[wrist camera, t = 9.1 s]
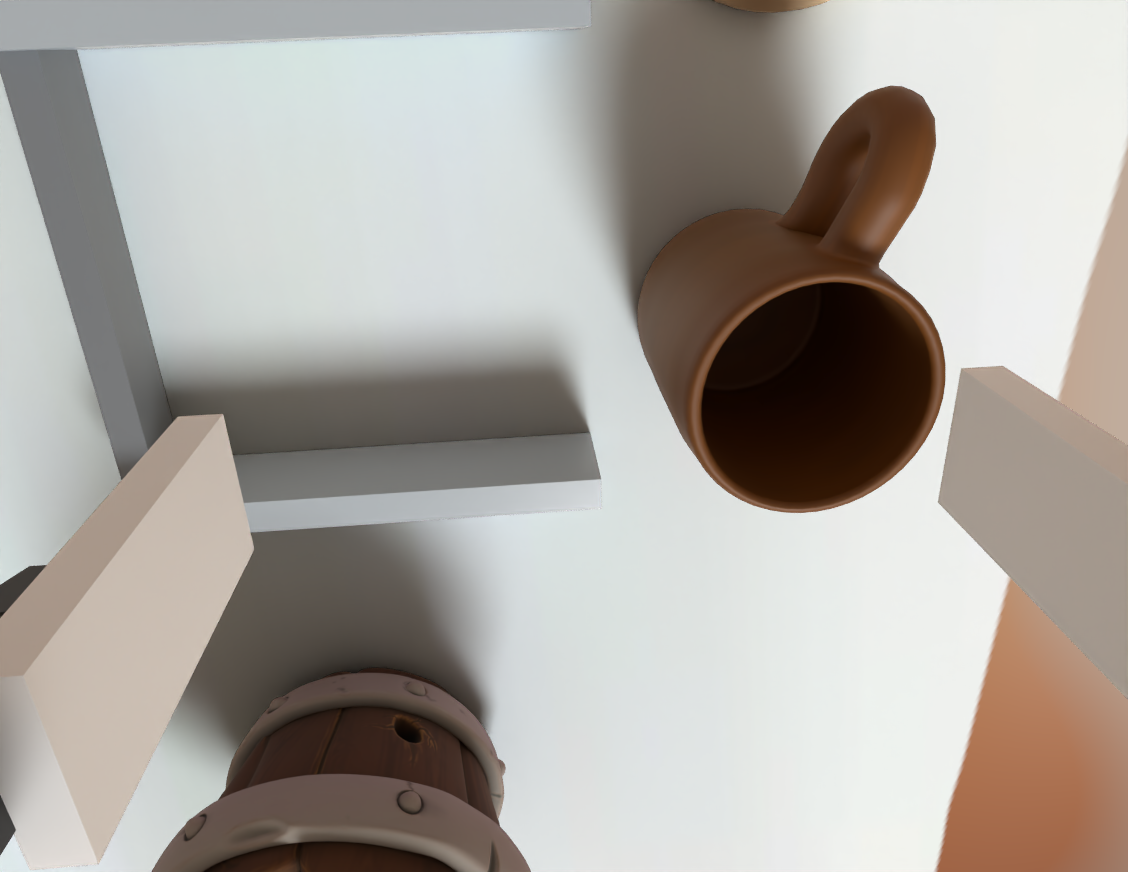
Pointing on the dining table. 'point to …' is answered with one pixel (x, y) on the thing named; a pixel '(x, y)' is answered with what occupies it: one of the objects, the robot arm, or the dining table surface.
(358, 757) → the flowerpot
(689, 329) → the mug
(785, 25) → the dining table surface
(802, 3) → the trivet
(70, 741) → the robot arm
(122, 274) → the u-shaped frame
